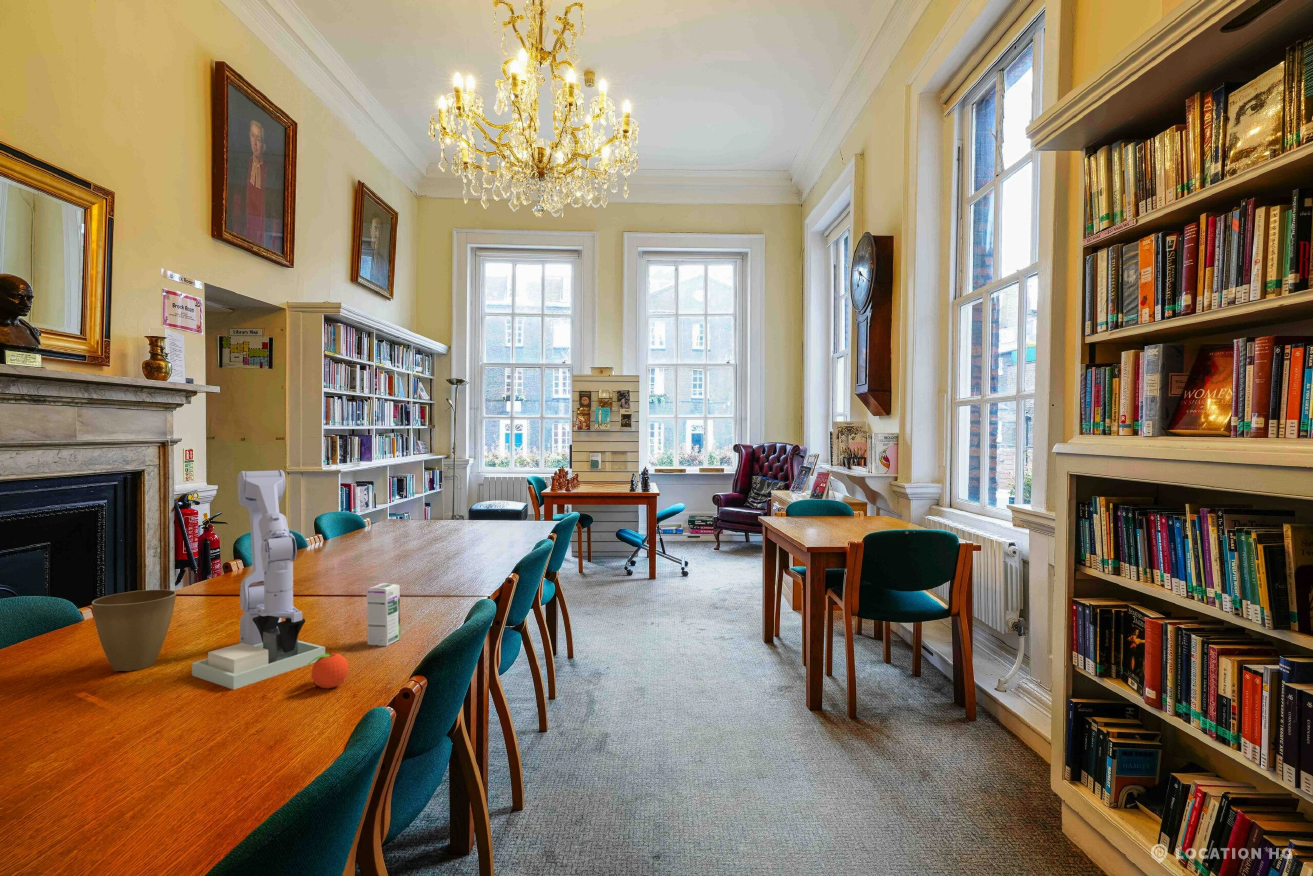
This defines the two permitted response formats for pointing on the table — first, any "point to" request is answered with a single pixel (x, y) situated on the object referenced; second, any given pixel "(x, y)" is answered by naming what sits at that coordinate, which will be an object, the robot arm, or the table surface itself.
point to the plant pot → (133, 626)
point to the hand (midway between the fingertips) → (278, 648)
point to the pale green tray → (260, 673)
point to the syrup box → (383, 614)
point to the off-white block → (238, 658)
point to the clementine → (329, 670)
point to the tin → (276, 646)
